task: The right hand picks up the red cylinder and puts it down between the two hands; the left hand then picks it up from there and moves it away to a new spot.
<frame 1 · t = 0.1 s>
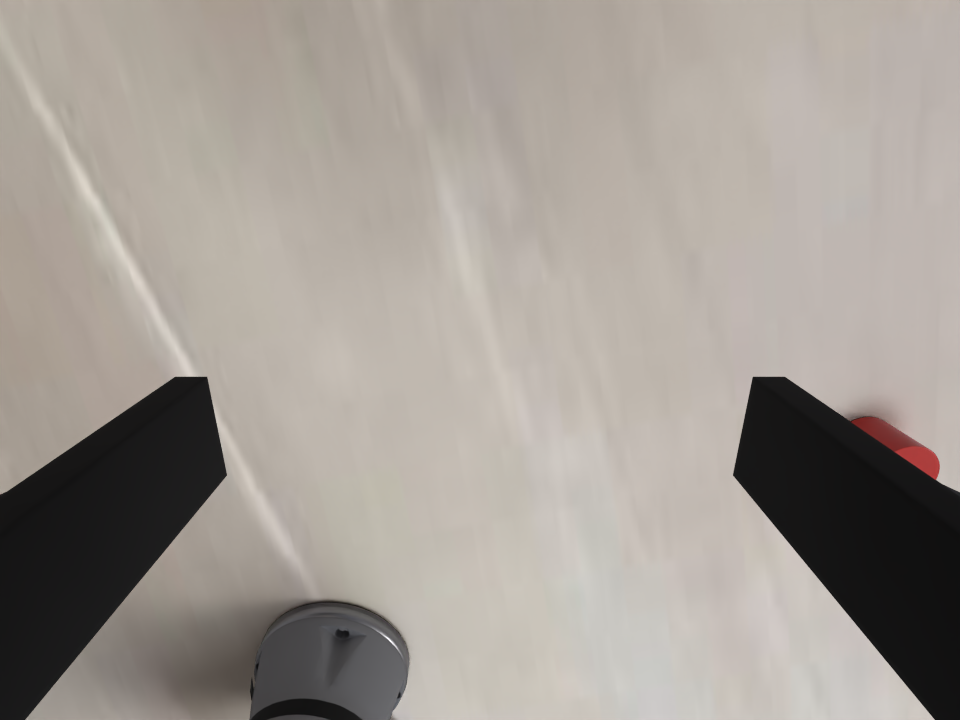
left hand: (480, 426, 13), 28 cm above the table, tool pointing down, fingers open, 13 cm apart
red cylinder: (860, 442, 45), on the table
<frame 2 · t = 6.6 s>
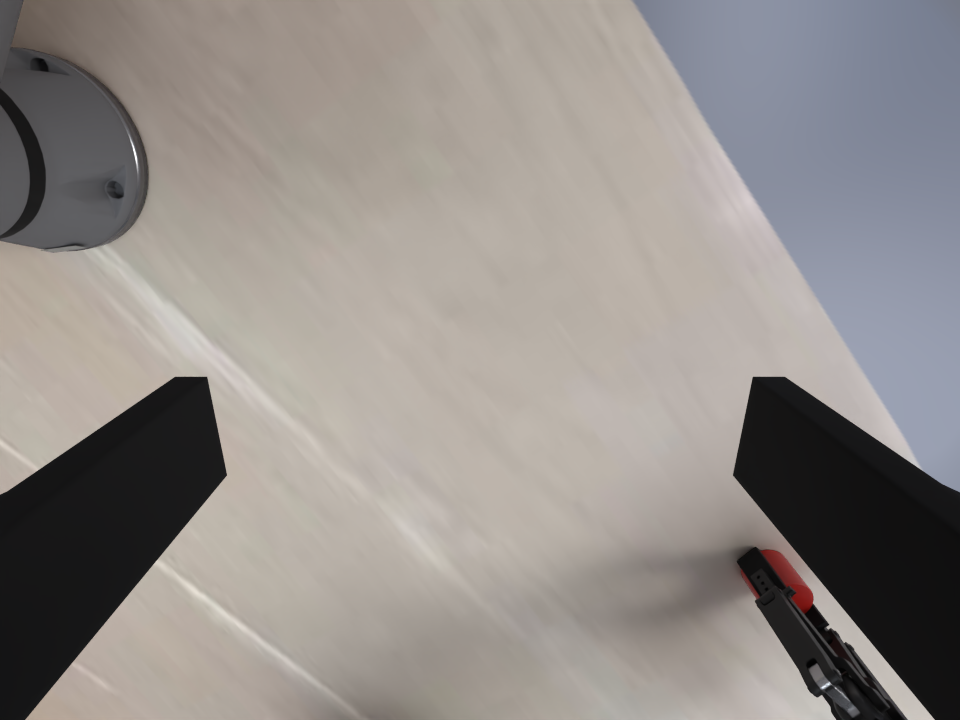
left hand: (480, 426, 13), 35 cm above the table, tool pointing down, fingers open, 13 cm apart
right hand: (765, 569, 58), fingers closed on red cylinder, 5 cm apart
red cylinder: (763, 567, 58), on the table, touching right hand
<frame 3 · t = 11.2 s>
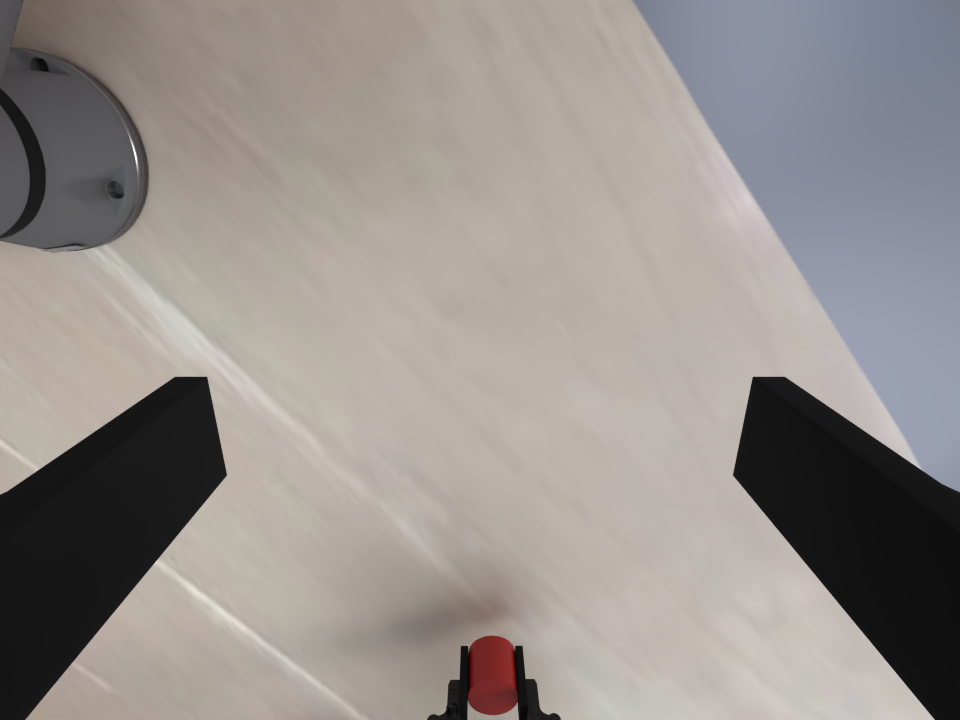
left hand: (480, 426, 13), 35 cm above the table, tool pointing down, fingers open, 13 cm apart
red cylinder: (491, 653, 56), point 5 cm above the table, touching right hand
when the right hand's fingers open (1 cm above the table, at t = 15.9 s): red cylinder drops 1 cm, on the table.
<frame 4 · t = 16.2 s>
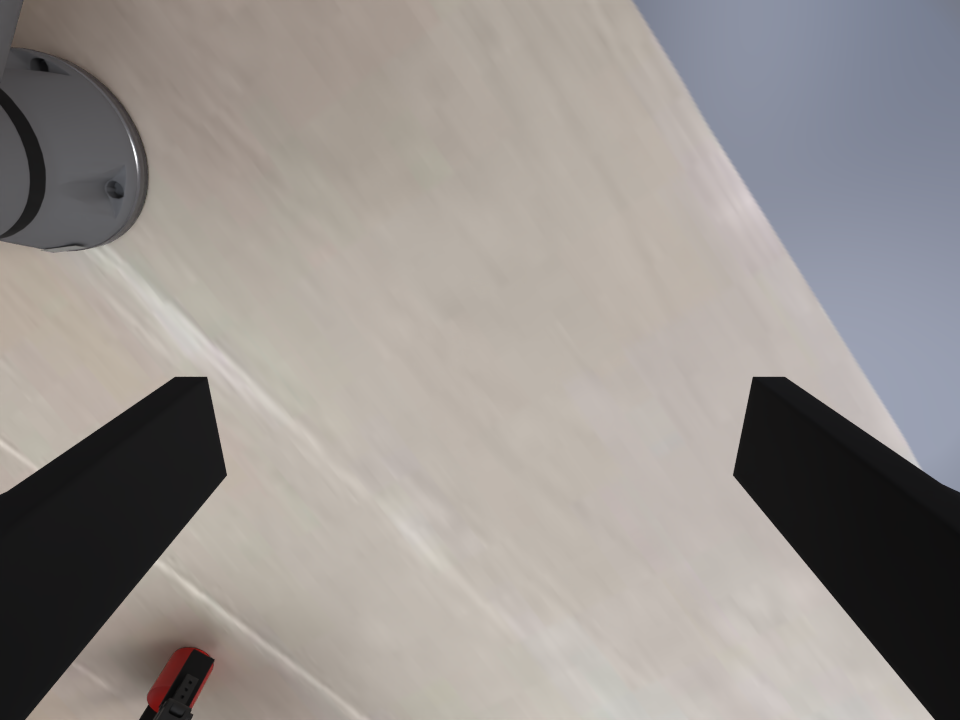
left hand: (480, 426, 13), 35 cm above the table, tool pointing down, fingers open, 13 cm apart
red cylinder: (192, 662, 63), on the table
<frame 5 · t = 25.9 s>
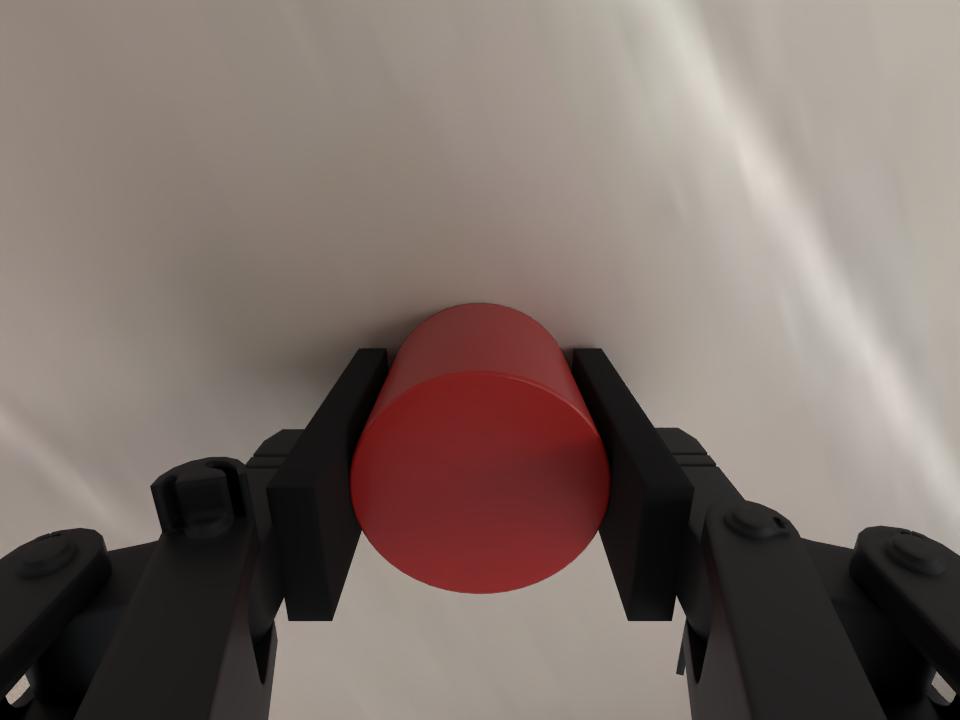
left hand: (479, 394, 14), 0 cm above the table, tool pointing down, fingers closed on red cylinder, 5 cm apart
red cylinder: (480, 389, 15), on the table, touching left hand
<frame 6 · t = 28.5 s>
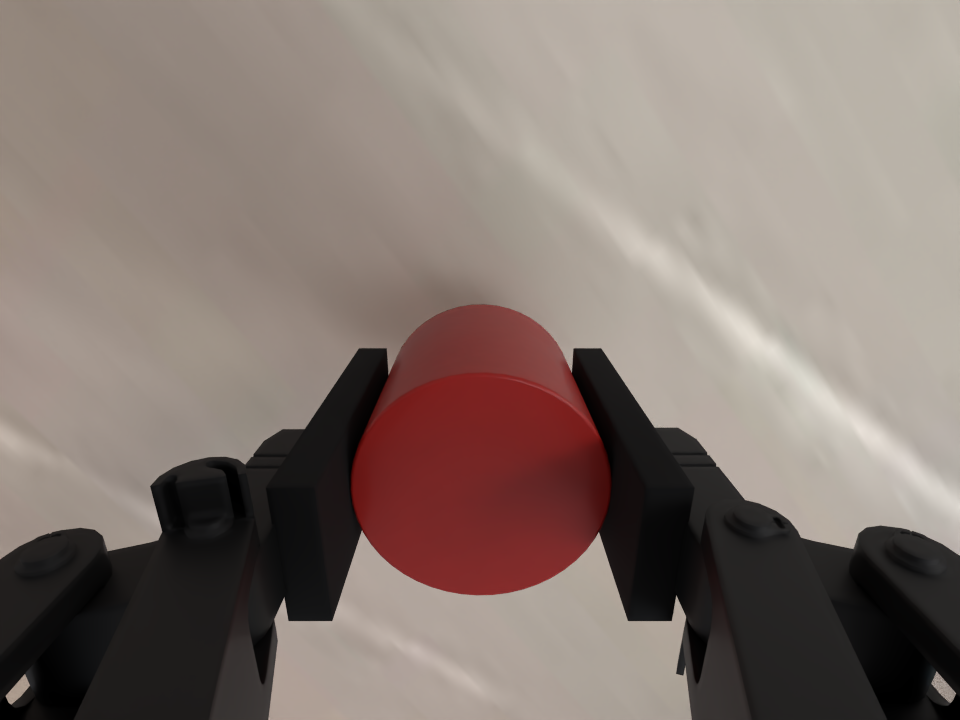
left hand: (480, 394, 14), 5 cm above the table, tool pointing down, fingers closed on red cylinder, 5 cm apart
red cylinder: (480, 390, 15), point 5 cm above the table, touching left hand
when the left hand's fingers open (1 cm above the table, at t = 31.2 s): red cylinder drops 1 cm, on the table.
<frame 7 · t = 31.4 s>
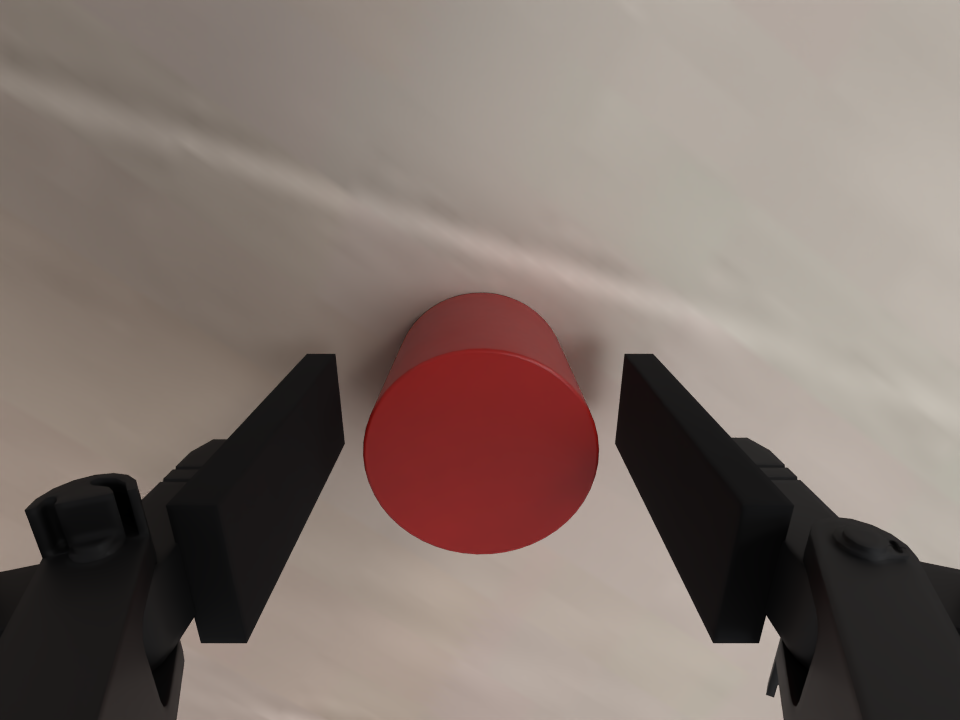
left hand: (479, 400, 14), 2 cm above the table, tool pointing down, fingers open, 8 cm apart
red cylinder: (480, 373, 16), on the table
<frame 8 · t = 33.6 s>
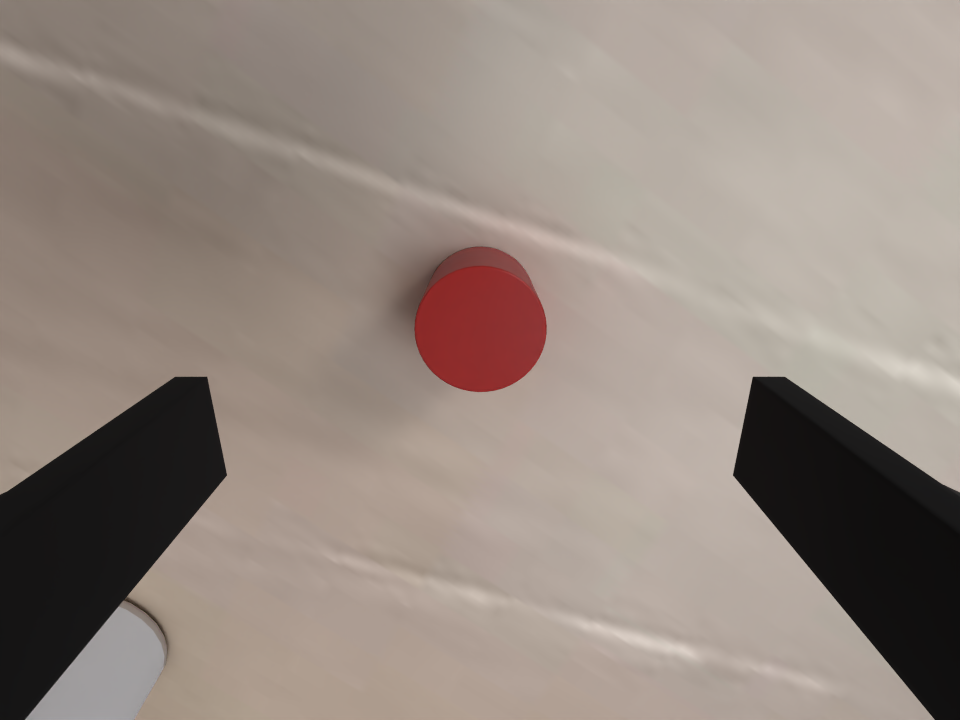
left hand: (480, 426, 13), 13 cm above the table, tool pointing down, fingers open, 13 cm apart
mug: (95, 626, 32), on the table
red cylinder: (480, 300, 24), on the table
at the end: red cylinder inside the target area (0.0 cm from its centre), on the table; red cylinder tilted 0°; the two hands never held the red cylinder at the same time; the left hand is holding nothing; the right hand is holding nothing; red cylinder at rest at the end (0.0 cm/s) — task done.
